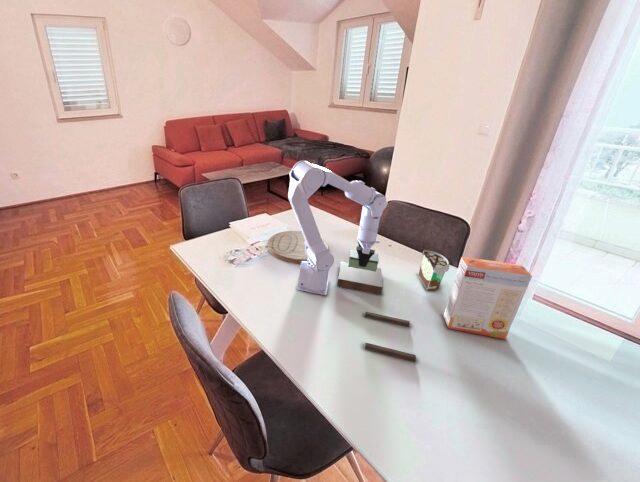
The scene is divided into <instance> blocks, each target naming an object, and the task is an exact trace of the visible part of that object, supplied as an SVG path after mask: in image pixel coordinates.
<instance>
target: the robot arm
mask: <svg viewBox="0 0 640 482" xmlns="http://www.w3.org/2000/svg"><path fill="white" fill-rule="evenodd" d="M365 184H366V182H364V181H362V180H351V181H349V180H347V179H345V178H344V177H342V176H340V175H338V174H336V173H335V172H333V171H331V170H329V169H327V168H326V167H323V166H320V165H319V164H315V163H310V162H309V161H307V160H299V161H297V162H296V163H295V164H294V165H293V167H292V168H291V170H290V171H289V187H288V193H287V198H288V199H287V200H288V201H289V203H290V206H291V209H292V212H293V213H294V217H295V219H296V221H297V224H298V226H299V228H300V231H302V234H303V236H304V239H305V242H304V243H305V253H306V255H307V256H308V259H307V261H302V262H301V264H300V267H299V271H298V272H299V273H298V283H297V284H298V286H297V291H302V292H307V293H313V294H317V295H322V296H327V294H328V293H327V292H328V289H329V283H330V282H329V280H328V279H329V271H330V269H331V268H332V267H333V265H334V264H335V258H334V255H333V254H332V253H331V252H329V248H328V249H327V247H326V246H325V244H324V243H323V241H322V239H323V238H322V236H321V234H320V231H319V227H318V225H317V222H316V219H315V217H314V215H313V212H312V209H311V206H310V203H309V198H310V197H311V196H312V195H313V194H314V193H316V191H318V189H320V187H326V186H327V185H330V186H332V187H334V188H336V189H339V190H341V191H343V192H344V195H345V197H346V198H347V199H349V200H351V201H354V202H355V203H357V204H360V205H361V206H362V207H361V208H362V209H361V213H360V214H361V215H360V221H359V227H358V233H357V236H356V241H357V244H358V245H356V248H355V249H356V250H355V251H357V253H358V256H359V266H361V267H366V266H367V263H368V261H369V259H370V258H371V256H372V255H373V254H376V249H372V248H373V247H374V246H375V244H380V242H381V240H380V238H377V236H378V231H379V226H380V221H381V217H382V215H383V212H384V210H385V209H386V208H387V207H388V204H389V203H388V202H387V198H386V196H385V195H384V194H382V193H380V192H378V191H377V190H376V188H375V187H372V186H371V187H370V186H368V185H365ZM321 238H322V239H321Z"/></svg>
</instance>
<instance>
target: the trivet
mask: <svg viewBox="0 0 640 482" xmlns="http://www.w3.org/2000/svg"><path fill="white" fill-rule="evenodd" d="M321 239H322V241H323V243H324V244H325V246H326V247H327V249H328V250H329V245H328V243H327V241H326V240H325V239H324V238H323V237H321ZM304 242H305V239H304V236H303V234H302V231H301V230H287V231H281V232H278V233H275V234H273V235H272V236H270V237H269V239H268V242H267V250H268V251H269V253H270V254H271V255H272V256H273V257H275V258H277V259H279V260H281V261H284V262H286V263H292V264H300V265H301V262H302V261H307V259H308V256H307V255H306V253H305V243H304ZM268 246H269V247H268ZM269 248H270V249H269Z"/></svg>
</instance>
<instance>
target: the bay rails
mask: <svg viewBox="0 0 640 482" xmlns="http://www.w3.org/2000/svg"><path fill="white" fill-rule="evenodd" d="M364 317H365V318H368V319H373V320H377V321H382V322H384V323H391V324H395V325H398V326H399V325H400V326H404V327H407V328H409V327H410V325H411V322H410V320H406V319H402V318H398V317H393V316H389V315H384V314H380V313H375V312H372V311H371V312H370V311H364ZM364 349H365V350H368V351H372V352H374V353H379V354H383V355H388V356H391V357H394V358H399V359H403V360H407V361H411V362H416V360H417V356H416V354H414V353H409V352H405V351H402V350H398V349H397V350H396V349H395V348H394V349H393V348H390V347H385V346H381V345H377V344H373V343H370V342H365V343H364Z"/></svg>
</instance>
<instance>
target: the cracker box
mask: <svg viewBox="0 0 640 482" xmlns="http://www.w3.org/2000/svg"><path fill="white" fill-rule="evenodd" d="M532 277H533V275H532V274H531V273H530V272H529V271H528V269H526V268H525V267H524V266H523V265H522V264H519V263H518V264H517V263H510V262H503V261H497V260H496V261H494V260H488V259H482V258H481V259H480V258H475V257H474V258H473V257H468V256H467V257H466V256H461V258H460V260H459V264H458V268H457V271H456V274H455V277H454V280H453V283H452V286H451V289H450V293H449V296H448V300H447V303H446V306H445V310H444V313H443V318H444V322H445V324H446V326H447V329H450V330H456V331H460V332H465V333H471V334H475V335H481V336H486V337H491V338H495V339H501V340H506V339H507V336H508V334H509V332H510V329H511V327H512V325H513V323H514V320H515V318H516V315H517V313H518V310H519V308H520V306H521V303H522V301H523V299H524V297H525V294H526V291H527V290H528V287H529V284H530V282H531V280H532Z"/></svg>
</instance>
